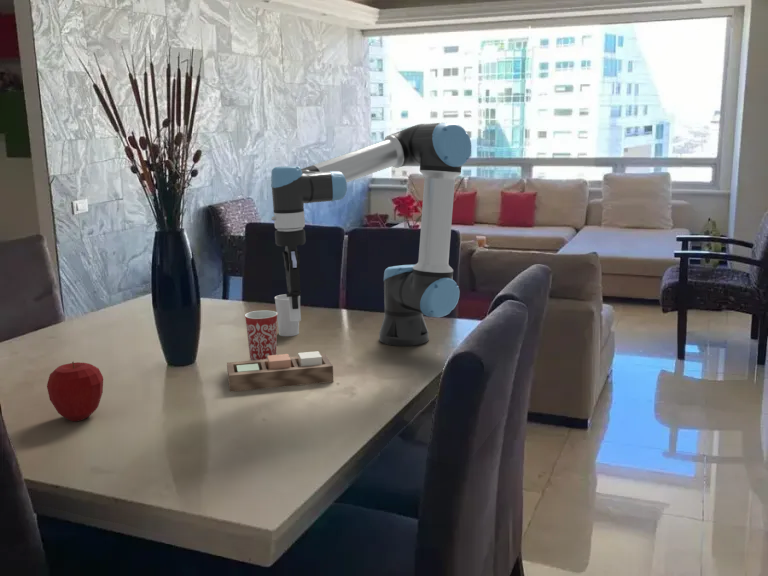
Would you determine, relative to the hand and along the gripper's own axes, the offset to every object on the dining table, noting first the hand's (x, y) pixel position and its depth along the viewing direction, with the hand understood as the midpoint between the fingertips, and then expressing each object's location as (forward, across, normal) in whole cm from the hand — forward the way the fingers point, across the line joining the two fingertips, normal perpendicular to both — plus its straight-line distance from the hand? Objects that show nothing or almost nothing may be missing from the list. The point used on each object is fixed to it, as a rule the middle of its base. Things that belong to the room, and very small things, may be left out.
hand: (295, 320), depth 191 cm
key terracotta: (+13, 0, -5) cm, 14 cm away
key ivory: (+13, 0, +3) cm, 14 cm away
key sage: (+15, +1, -13) cm, 20 cm away
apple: (+15, +14, -52) cm, 56 cm away
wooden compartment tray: (+15, 0, -5) cm, 16 cm away
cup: (+16, -45, +2) cm, 47 cm away
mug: (+16, -20, -7) cm, 26 cm away
